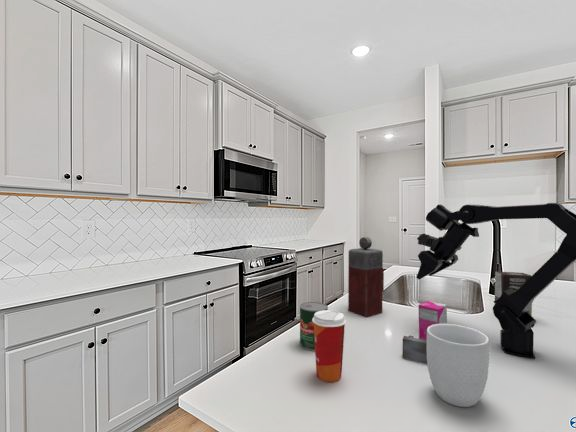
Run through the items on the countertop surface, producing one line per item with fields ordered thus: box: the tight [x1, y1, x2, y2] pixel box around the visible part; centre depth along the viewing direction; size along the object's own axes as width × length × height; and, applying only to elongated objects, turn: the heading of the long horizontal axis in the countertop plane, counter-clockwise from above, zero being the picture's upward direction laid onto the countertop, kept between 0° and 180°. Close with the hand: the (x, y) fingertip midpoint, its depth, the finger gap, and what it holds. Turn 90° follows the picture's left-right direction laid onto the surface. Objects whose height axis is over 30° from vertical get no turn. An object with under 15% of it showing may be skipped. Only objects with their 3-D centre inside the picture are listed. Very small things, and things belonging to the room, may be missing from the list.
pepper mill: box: [347, 236, 385, 319], centre depth 114 cm, size 9×11×28 cm
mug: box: [426, 323, 490, 408], centre depth 63 cm, size 15×11×13 cm
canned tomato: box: [299, 301, 329, 352], centre depth 85 cm, size 8×8×11 cm
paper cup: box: [312, 309, 347, 383], centre depth 69 cm, size 8×8×14 cm
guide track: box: [401, 335, 427, 364], centre depth 79 cm, size 12×10×5 cm
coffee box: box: [494, 271, 533, 317], centre depth 106 cm, size 9×6×16 cm
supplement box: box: [417, 300, 448, 340], centre depth 85 cm, size 6×6×12 cm
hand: (423, 276), depth 101 cm, fingers open, 9 cm apart
